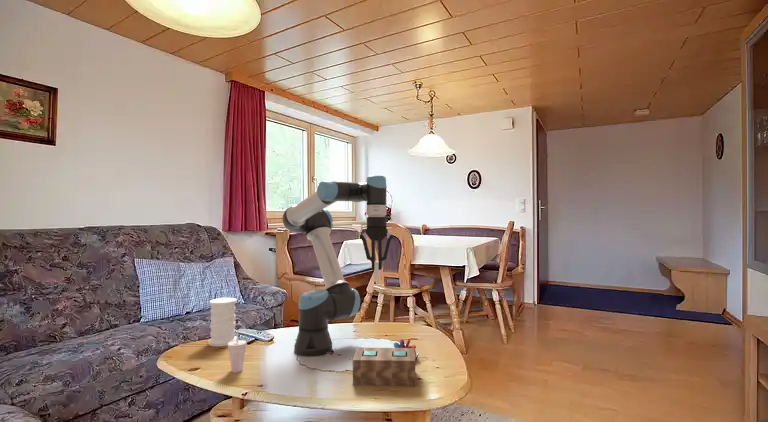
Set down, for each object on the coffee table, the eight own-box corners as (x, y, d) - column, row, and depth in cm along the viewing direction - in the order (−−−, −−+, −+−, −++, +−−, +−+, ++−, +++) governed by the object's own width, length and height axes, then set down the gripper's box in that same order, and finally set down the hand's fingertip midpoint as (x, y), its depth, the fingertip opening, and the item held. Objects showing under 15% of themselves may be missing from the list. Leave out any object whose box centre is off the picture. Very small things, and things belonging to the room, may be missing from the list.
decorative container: (231, 346, 163) (231, 303, 164) (203, 346, 164) (203, 303, 164) (241, 337, 175) (241, 297, 175) (215, 337, 175) (215, 297, 175)
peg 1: (363, 379, 130) (363, 355, 130) (364, 374, 134) (364, 350, 134) (375, 379, 129) (375, 355, 129) (376, 374, 133) (376, 351, 133)
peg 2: (393, 379, 129) (393, 355, 129) (393, 374, 133) (393, 351, 133) (405, 380, 129) (405, 355, 129) (405, 375, 133) (405, 351, 133)
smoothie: (228, 375, 134) (228, 334, 134) (226, 368, 140) (226, 329, 140) (248, 371, 137) (248, 331, 137) (245, 365, 142) (245, 326, 143)
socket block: (352, 385, 126) (352, 360, 126) (357, 370, 138) (356, 347, 138) (415, 386, 125) (415, 360, 125) (414, 371, 137) (414, 348, 137)
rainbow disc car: (415, 363, 144) (415, 343, 144) (389, 361, 146) (389, 342, 146) (417, 355, 153) (417, 336, 153) (393, 353, 154) (393, 335, 155)
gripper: (358, 216, 146) (358, 279, 146) (393, 216, 145) (393, 280, 145) (360, 216, 153) (360, 276, 153) (393, 216, 153) (394, 276, 153)
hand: (376, 278), depth 149 cm, fingers closed
